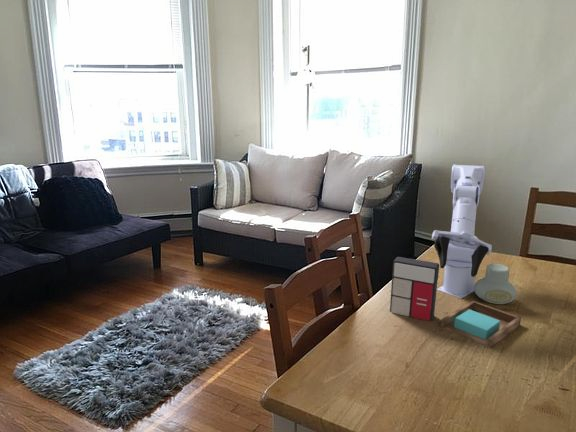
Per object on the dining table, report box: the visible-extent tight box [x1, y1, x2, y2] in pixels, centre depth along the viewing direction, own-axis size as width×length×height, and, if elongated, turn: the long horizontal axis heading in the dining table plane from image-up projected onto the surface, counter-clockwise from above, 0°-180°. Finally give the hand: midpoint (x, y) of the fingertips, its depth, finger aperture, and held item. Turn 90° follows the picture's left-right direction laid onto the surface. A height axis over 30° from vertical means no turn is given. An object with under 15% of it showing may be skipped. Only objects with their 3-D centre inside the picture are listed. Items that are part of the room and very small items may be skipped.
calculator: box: [389, 256, 440, 322], centre depth 116 cm, size 11×4×15 cm, turn 62°
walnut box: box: [440, 300, 522, 348], centre depth 111 cm, size 16×13×2 cm
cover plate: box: [454, 309, 500, 340], centre depth 110 cm, size 7×8×2 cm
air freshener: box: [474, 263, 518, 305], centre depth 125 cm, size 11×8×10 cm
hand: (458, 270), depth 110 cm, fingers open, 7 cm apart
